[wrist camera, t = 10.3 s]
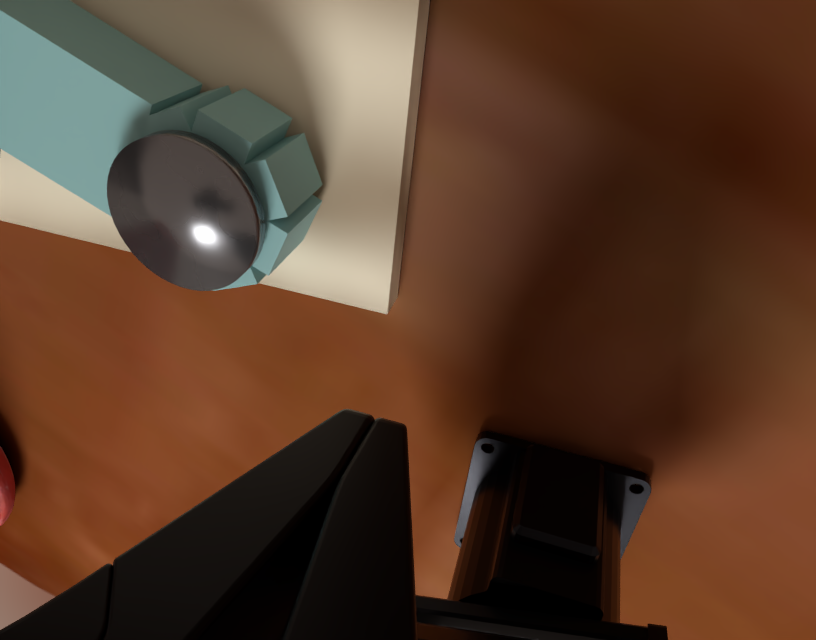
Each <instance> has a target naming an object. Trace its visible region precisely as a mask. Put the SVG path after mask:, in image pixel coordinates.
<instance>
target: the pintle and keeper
mask: <svg viewBox="0 0 816 640" xmlns="http://www.w3.org/2000/svg"><path fill="white" fill-rule="evenodd" d="M0 152H1V149H0ZM107 199H108V205H109V209H110V213H111V216H112V219H113V222H114V224H115V226H116V228H117V230H118V232H119V234H120V236H121V238H122V239H123V241H124V242H125V244H126V245H127V247H128V248H129V249H130V251H131V252H132V253H133V254H134V255H135V256H136V257H137V259H138V260H139V261H141V262H142V263H143V264H144V265H145V266H146V267H147V268H148V269H150V270H151V271H152V272H154V273H155V274H156V275H158V276H160V277H161V278H163V279H165V280H167V281H168V282H170V283H173V284H175V285H178V286H180V287H184V288H187V289H192V290H199V291H209V290H217V289H220V288H224V287H226V286H228V285H230V284H232V283H233V282H235V281H236V280H238V279H239V278H240V277H241V276H242V275H243V274H244V273H245V272H246V271H247V270H248V269H249V268H250V267H251V266H252V265H253V264H254V263H255V261H256V260H257V259H258V257H259V255H260V253H261V251H262V248H263V244H264V240H265V216H264V211H263V207H262V203H261V200H260V198H259V195H258V192H257V190H256V188H255V187H254V185H253V183H252V181H251V179H250V178H249V176H248V175H247V173H246V172H245V171H244V169H243V168H242V167H241V166H240V164H239V163H238V162H237V161H236V160H235V159H234V158H233V157H232V156H231V155H230V154H228V153H227V152H226V151H225V150H224V149H222V148H221V147H219V146H218V145H216V144H215V143H213V142H212V141H210V140H208V139H206V138H204V137H202V136H199V135H197V134H194V133H191V132H186V131H182V130H162V131H157V132H153V133H151V134H149V135H146V136H144V137H142V138H140V139H138V140H136V141H134V142H132V143H130V144H129V145H127V146H126V147H124V148H123V149H122V150H121V151H120V152H119V153H118V155H117V156H116V158H115V159H114V161H113V163H112V165H111V167H110V171H109V174H108V180H107Z"/></svg>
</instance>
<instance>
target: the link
mask: <svg viewBox="0 0 816 640" xmlns="http://www.w3.org/2000/svg"><path fill="white" fill-rule="evenodd" d="M201 88H202V83H201V82H199V81H197V80H196V79H194V78H193V77H191V76H189V75H188V74H186V73H185V72H183V71H181V70H180V69H178V68H177V67H175V66H174V65H172V64H170V63H169V62H167V61H166V60H164V59H162V58H161V57H159V56H158V55H156V54H154V53H153V52H151V51H150V50H148V49H146V48H145V47H143V46H142V45H140V44H139V43H137V42H135V41H134V40H132V39H131V38H129V37H127V36H126V35H124V34H123V33H121V32H119V31H118V30H116V29H115V28H113V27H111V26H110V25H108V24H107V23H105V22H103V21H102V20H100V19H99V18H97V17H96V16H94V15H92V14H91V13H89V12H88V11H86V10H84V9H83V8H81V7H80V6H78V5H76V4H75V3H73V2H72V1H70V0H0V149H2V150H3V151H5V152H7V153H8V154H10V155H12V156H13V157H15V158H16V159H18V160H20V161H21V162H23V163H25V164H26V165H28V166H30V167H31V168H33V169H34V170H36V171H38V172H39V173H41V174H43V175H44V176H46V177H48V178H49V179H51V180H52V181H54V182H56V183H57V184H59V185H61V186H62V187H64V188H65V189H67V190H69V191H70V192H72V193H74V194H75V195H77V196H79V197H80V198H82V199H83V200H85V201H87V202H88V203H90V204H92V205H93V206H95V207H96V208H98V209H100V210H101V211H103V212H105V213H106V214H108V215H110V216H111V213H110V209H109V205H108V199H107V180H108V174H109V171H110V167H111V165H112V163H113V161H114V159H115V158H116V156H117V155H118V153H119V152H120V151H121V150H122V149H123V148H124V147H126V146H127V145H129V144H130V143H132V142H134V141H136V140H138V139H140V138H142V137H144V136H146V135H149V134H151V133H153V132H157V131H162V130H182V131H186V132H191V133H194V134H197V135H199V136H202V137H204V138H206V139H208V140H210V141H212V142H213V143H215V144H216V145H218V146H219V147H221V148H222V149H224V150H225V151H226V152H227V153H228V154H230V155H231V156H232V157H233V158H234V159H235V160H236V161H237V162H238V163H239V164H240V166H241V167H242V168H243V169H244V171H245V172H246V173H247V175H248V176H249V178H250V179H251V181H252V183H253V185H254V187H255V188H256V190H257V192H258V195H259V198H260V200H261V203H262V207H263V211H264V216H265V240H264V244H263V248H262V251H261V253H260V255H259V257H258V259H257V260H256V261H255V263H254V264H253V265H252V266H251V267H250V268H249V269H248V270H247V271H246V272H245V273H244V274H243V275H242V276H241V277H240V278H239V279H238V280H236V281H235V282H233V283H232V284H230V285H228V286H226V287H224V288H220V289H217V290H222V289H228V288H235V287H241V286H247V285H254V284H258V283H259V282H260V281H261V280H262V279H263V278H264V277H265V276H266V275H268V276H269V275H270V274H271V273H272V272H273V271H274V270H275V269H276V268H277V267H278V266H279V265H280V264H281V263H282V262H283V261H284V260H285V259H286V257H287V256H288V255H289V254H290V253H291V252H292V251H293V250H294V249H295V248H296V247H297V246H298V245H299V244H300V243H301V242H302V241H303V240H304V238H305V236H306V234H307V232H308V230H309V228H310V225H311V223H312V221H313V219H314V217H315V215H316V213H317V211H318V209H319V207H320V205H321V203H322V200H320V199H319V198H317V197H316V196H314V195H312V194H313V193H314V192H315V191H317V190H318V189H319V188H320V187H321V186H322V185H323V184H322V181H321V179H320V176H319V173H318V170H317V167H316V165H315V162H314V159H313V156H312V153H311V151H310V148H309V145H308V142H307V140H306V137H305V134H304V133H301V134H297V135H293V136H289V137H285V135H286V133H287V130H288V128H289V125H290V123H291V120H292V118H291V117H290V116H288V115H287V114H285V113H283V112H282V111H280V110H279V109H277V108H276V107H274V106H272V105H271V104H269V103H268V102H266V101H264V100H263V99H261V98H260V97H258V96H257V95H255V94H253V93H252V92H250V91H249V90H247V89H245V88H243V89H241V90H239V91H237V92H235V93H233V94H232V93H231V91H230V88H229V86H228V85H227V86H224V87H220V88H217V89H213V90H210V91H207V92H203V93H200V91H201ZM111 217H112V216H111ZM213 291H215V290H213Z"/></svg>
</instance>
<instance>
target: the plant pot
mask: <svg viewBox="0 0 816 640" xmlns="http://www.w3.org/2000/svg"><path fill="white" fill-rule="evenodd" d="M14 500H15V482H14V476H13V472H12V469H11V466H10V464H9V461H8V459H7V457H6V455H5V453H4V451H3V450H2V448H1V446H0V526H1V525H2V524H3V523H4V522H5V521H6V520H7V518H8V517H9V515H10V513H11V512H12V509H13V506H14Z"/></svg>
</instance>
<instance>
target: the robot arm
mask: <svg viewBox="0 0 816 640" xmlns="http://www.w3.org/2000/svg"><path fill="white" fill-rule="evenodd" d="M485 443H489V444H491V445H493V446H487V445H485ZM632 484H640V485H641V486H633V485H632ZM650 493H651V480H650V478H649V476H647V475H646V474H645V473H643V472H640V471H636V470H633V469H629V468H625V467H622V466H618V465H614V464H610V463H607V462H603V461H599V460H595V459H592V458H588V457H584V456H580V455H577V454H573V453H569V452H566V451H562V450H558V449H554V448H551V447H547V446H543V445H539V444H536V443H532V442H528V441H525V440H521V439H517V438H513V437H510V436H506V435H502V434H498V433H495V432H490V431H485V432H482V433H480V434H479V435H478V437H477V439H476V443H475V447H474V451H473V456H472V460H471V465H470V469H469V474H468V478H467V483H466V488H465V492H464V497H463V501H462V506H461V510H460V515H459V519H458V524H457V529H456V533H455V538H454V541H455V543H456V545H457V546H459V547H460V552H459V556H458V560H457V564H456V568H455V572H454V575H453V579H452V583H451V587H450V591H449V595H448V599H441V598H433V597H426V596H419V595H415V578H414V558H413V538H412V518H411V499H410V479H409V459H408V439H407V428H406V426H405V425H404V424H402V423H399V422H395V421H391V420H388V419H384V418H377V419H374V418H373V416H372V415H369V414H366V413H362V412H358V411H355V410H351V409H344V410H341V411H339V412H338V413H336V414H335V415H333V416H332V417H330V418H329V419H327V420H326V421H324V422H323V423H321V424H320V425H318V426H317V427H315V428H314V429H312V430H311V431H309V432H308V433H306V434H304V435H303V436H301V437H300V438H298V439H297V440H295V441H294V442H292V443H291V444H289V445H288V446H286V447H285V448H283V449H282V450H280V451H279V452H277V453H276V454H274V455H272V456H271V457H269V458H268V459H266V460H265V461H263V462H262V463H260V464H259V465H257V466H256V467H254V468H253V469H251V470H250V471H248V472H247V473H245V474H244V475H242V476H241V477H239V478H237V479H236V480H234V481H233V482H231V483H230V484H228V485H227V486H225V487H224V488H222V489H221V490H219V491H218V492H216V493H215V494H213V495H212V496H210V497H209V498H207V499H205V500H204V501H202V502H201V503H199V504H198V505H196V506H195V507H193V508H192V509H190V510H189V511H187V512H186V513H184V514H183V515H181V516H180V517H178V518H177V519H175V520H173V521H172V522H170V523H169V524H167V525H166V526H164V527H163V528H161V529H160V530H158V531H157V532H155V533H154V534H152V535H151V536H149V537H148V538H146V539H145V540H143V541H142V542H140V543H138V544H137V545H135V546H134V547H132V548H131V549H129V550H128V551H126V552H125V553H123V554H122V555H120V556H119V557H117V558H116V559H115V560H114V562H113V565H112V564H106V565H104V566H103V567H101V568H100V569H98V570H97V571H95V572H94V573H92V574H91V575H89V576H88V577H86V578H85V579H83V580H82V581H80V582H79V583H77V584H76V585H74V586H72V587H71V588H69V589H68V590H66V591H64V592H63V593H61V594H60V595H58V596H56V597H55V598H53V599H52V600H50V601H48V602H47V603H45V604H44V605H42V606H40V607H39V608H37V609H36V610H34V611H32V612H31V613H29V614H28V615H26V616H24V617H22V618H21V619H19V620H17V621H15V622H14V623H12V624H10V625H8V626H7V627H5V628H3V629H2V630H0V640H668V636H667V626H662V625H654V624H648V627H645V626H638V625H631V624H624V623H620V560H621V557H622V555H623V553H624V551H625V548H626V546H627V544H628V542H629V540H630V537H631V535H632V533H633V531H634V529H635V526H636V524H637V522H638V520H639V517H640V515H641V513H642V511H643V509H644V506H645V504H646V502H647V500H648V497H649V495H650Z"/></svg>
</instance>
